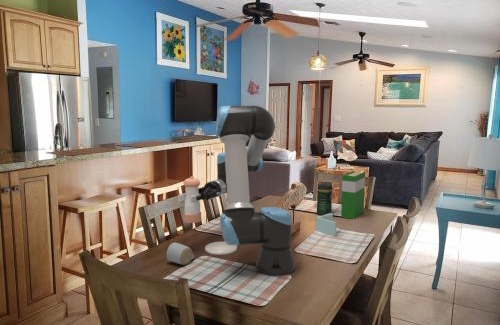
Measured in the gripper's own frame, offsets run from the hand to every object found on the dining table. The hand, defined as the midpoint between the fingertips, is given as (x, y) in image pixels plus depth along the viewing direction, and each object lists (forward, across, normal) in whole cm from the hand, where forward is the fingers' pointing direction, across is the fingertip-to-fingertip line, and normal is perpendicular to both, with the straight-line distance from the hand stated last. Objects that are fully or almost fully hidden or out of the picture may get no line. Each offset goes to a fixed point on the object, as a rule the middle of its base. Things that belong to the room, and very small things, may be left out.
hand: (184, 199), depth 161 cm
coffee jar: (-87, -35, -24) cm, 97 cm away
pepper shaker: (-5, 0, -11) cm, 12 cm away
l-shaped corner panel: (-58, -47, -25) cm, 79 cm away
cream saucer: (-12, -10, -24) cm, 29 cm away
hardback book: (-93, -50, -24) cm, 108 cm away
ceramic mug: (+7, -3, -24) cm, 25 cm away
